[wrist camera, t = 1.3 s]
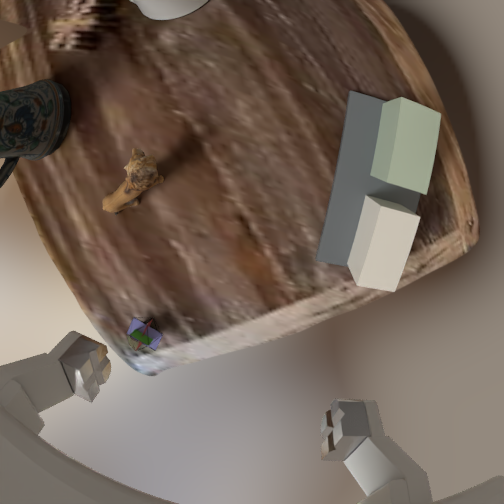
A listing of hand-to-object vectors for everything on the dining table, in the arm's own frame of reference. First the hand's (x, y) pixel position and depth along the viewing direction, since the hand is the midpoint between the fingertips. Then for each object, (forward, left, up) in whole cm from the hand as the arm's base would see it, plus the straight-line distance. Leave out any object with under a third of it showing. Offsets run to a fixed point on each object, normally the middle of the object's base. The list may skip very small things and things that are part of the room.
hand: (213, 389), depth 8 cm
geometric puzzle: (+29, -20, -34) cm, 49 cm away
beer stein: (-10, -46, -34) cm, 58 cm away
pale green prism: (-12, +16, -33) cm, 39 cm away
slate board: (-5, +15, -34) cm, 38 cm away
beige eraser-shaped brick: (+2, +16, -33) cm, 37 cm away
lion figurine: (+1, -21, -34) cm, 40 cm away
